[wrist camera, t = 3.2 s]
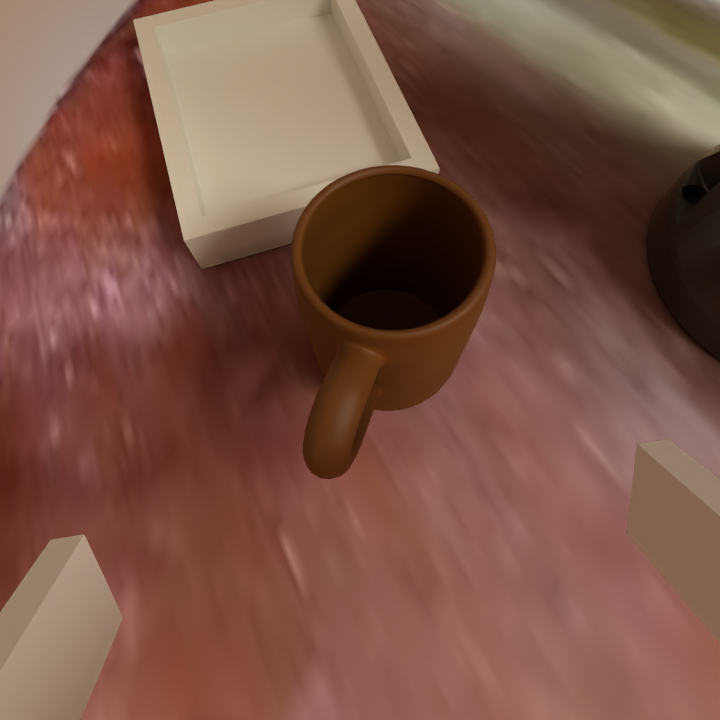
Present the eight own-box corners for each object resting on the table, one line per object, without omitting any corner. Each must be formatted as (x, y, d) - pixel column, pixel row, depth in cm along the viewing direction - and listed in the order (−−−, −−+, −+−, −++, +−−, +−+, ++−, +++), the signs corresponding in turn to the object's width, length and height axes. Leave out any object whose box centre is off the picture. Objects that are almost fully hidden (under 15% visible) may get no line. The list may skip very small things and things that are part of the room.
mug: (411, 522, 22) (435, 509, 14) (262, 471, 23) (195, 427, 15) (472, 306, 26) (521, 186, 18) (342, 270, 27) (328, 140, 19)
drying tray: (342, 12, 35) (340, -30, 33) (433, 202, 29) (439, 168, 26) (151, 60, 34) (133, 19, 31) (201, 269, 28) (183, 240, 25)
